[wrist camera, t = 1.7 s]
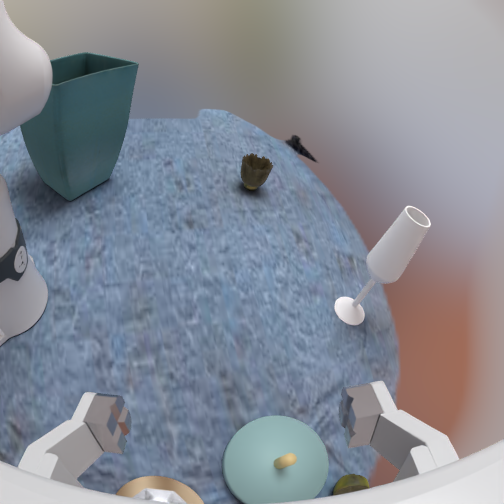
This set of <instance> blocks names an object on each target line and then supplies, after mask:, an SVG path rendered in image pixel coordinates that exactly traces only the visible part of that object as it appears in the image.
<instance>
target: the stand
mask: <svg viewBox="0 0 504 504" xmlns="http://www.w3.org/2000/svg"><path fill="white" fill-rule="evenodd" d="M145 488H149V489H158V490H168V491H174V492H175V493H176V494H177V495H179V496H180V497H181V498H182V499H183V500H184V501H185V502H186V503H187V504H204V503H203V501H202V500H201V498H200V497H199V496H198V495H197V494H196V493H195V492H194V491H193V490H192V489H191V488H189V487H188V486H186V485H185V484H183V483H181V482H179V481H176V480H174V479H171V478H167V477H161V476H146V477H141V478H137V479H134V480H132V481H130V482H128V483H127V484H125V485H124V486H123V487H122V488H121V489H120V490H119V491H118V492H117V493H116V495H119V496H124V497H131V498H132V497H134V496H135V495H136V494H138V493H139V492H141V491H142V490H143V489H145Z"/></svg>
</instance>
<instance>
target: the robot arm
mask: <svg viewBox="0 0 504 504" xmlns="http://www.w3.org/2000/svg"><path fill="white" fill-rule="evenodd" d="M52 78H53V74H52V66H51V62H50V59H49V57H48V55H47V53H46V52H45V50H44V49H43V48H42V47H41V46H40V45H39V44H38V43H37V42H35V41H33V40H31V39H30V38H28V37H27V36H25V35H24V34H23V33H21V32H20V31H19V30H18V29H17V27H16V26H15V25H14V24H13V22H12V21H11V19H10V18H9V16H8V14H7V11H6V9H5V6H4V2H3V0H0V136H1V135H3V134H6V133H8V132H10V131H11V130H13V129H15V128H16V127H18V126H20V125H22V124H23V123H25V122H27V121H28V120H30V119H32V118H33V117H35V116H37V115H39V114H40V113H41V111H42V109H43V108H44V106H45V104H46V102H47V100H48V97H49V95H50V91H51V87H52ZM47 299H48V290H47V285H46V283H45V281H44V279H43V277H42V276H41V275H40V273H39V272H38V270H37V269H36V267H35V263H34V261H33V259H32V257H31V256H30V255H29V254H28V252H27V249H26V244H25V240H24V237H23V233H22V229H21V226H20V224H19V222H18V220H17V219H16V218H15V215H14V212H13V208H12V204H11V200H10V196H9V191H8V187H7V183H6V181H5V179H4V178H3V176H2V175H1V174H0V345H2V344H3V343H4V342H5V341H6V340H7V339H8V338H10V337H12V336H15V335H18V334H20V333H22V332H24V331H26V330H28V329H29V328H30V327H32V326H33V325H34V324H35V323H36V322H37V321H38V319H39V318H40V317H41V315H42V313H43V312H44V309H45V307H46V304H47ZM341 395H342V398H343V400H342V401H341V402H340V405H339V418H340V422H341V426H343V427H344V428H345V433H344V436H345V439H346V442H347V446H348V448H352V447H358V446H363V445H369V444H370V446H371V447H372V448H374V449H375V450H376V451H377V452H378V453H380V454H381V455H382V456H383V457H384V458H386V459H387V460H388V461H389V462H390V463H391V464H393V465H394V466H395V467H396V468H398V469H399V470H400V471H399V473H398V474H397V476H396V478H395V480H394V481H393V482H392V483H389V484H385V485H382V486H377V487H373V488H369V489H364V490H360V491H355V492H350V493H345V494H340V495H335V496H329V497H323V498H316V499H309V500H301V501H292V502H281V503H268V504H504V439H503V440H501V441H499V442H497V443H495V444H493V445H491V446H489V447H486V448H484V449H482V450H480V451H478V452H476V453H473V454H471V455H469V456H467V457H464V458H462V459H459V457H458V456H457V454H456V452H455V450H454V448H453V446H452V444H451V443H450V440H449V438H448V437H447V436H446V435H444V434H443V433H441V432H439V431H437V430H435V429H434V428H432V427H430V426H428V425H427V424H425V423H423V422H421V421H420V420H418V419H416V418H415V417H413V416H411V415H409V414H408V413H406V412H404V411H403V410H397V408H396V406H395V404H394V402H393V400H392V398H391V396H390V394H389V392H388V390H387V388H386V386H385V384H384V382H383V381H377V382H372V383H366V384H361V385H355V386H349V387H343V389H342V393H341ZM124 403H125V402H124V399H123V397H122V396H118V395H109V394H101V393H92V392H86V393H84V394H83V396H82V398H81V400H80V402H79V405H78V407H77V409H76V411H75V413H74V415H73V417H72V419H71V420H67V421H65V422H64V423H62V424H61V425H59V426H58V427H56V428H55V429H53V430H52V431H50V432H49V433H47V434H46V435H44V436H43V437H41V438H40V439H38V440H37V441H35V442H34V443H32V444H30V445H29V446H28V447H27V449H26V451H25V453H24V455H23V457H22V459H21V461H20V463H19V465H18V468H17V467H14V466H12V465H9V464H7V463H4V462H2V461H0V504H184V503H171V502H161V501H152V500H144V499H137V498H131V497H124V496H119V495H113V494H108V493H103V492H98V491H94V490H89V489H85V488H84V487H83V486H82V485H81V484H80V483H79V481H78V480H77V478H78V477H79V476H80V475H81V474H82V473H83V472H84V471H85V470H86V469H87V468H88V467H89V466H90V465H91V464H92V463H94V462H95V461H96V460H97V459H98V458H99V457H100V456H101V455H102V454H103V453H104V452H112V453H120V454H123V452H124V449H125V445H126V442H127V440H126V438H125V435H127V434H128V433H129V432H130V429H131V416H130V413H129V410H128V409H126V408H125V407H124ZM103 451H104V452H103Z"/></svg>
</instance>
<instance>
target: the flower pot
mask: <svg viewBox="0 0 504 504" xmlns="http://www.w3.org/2000/svg"><path fill="white" fill-rule="evenodd" d="M50 62H51V66H52V74H53V78H52V87H51V91H50V95H49V97H48V100H47V102H46V104H45V106H44V108H43V109H42V111H41V113H40V114H39V115H37V116H35V117H33V118H32V119H30V120H28V121H27V122H25V123H23V124H22V125H20V127H21V131H22V135H23V138H24V142H25V144H26V147H27V150H28V152H29V155H30V157H31V160H32V162H33V164H34V166H35V168H36V170H37V171H38V173H39V175H40V177H41V178H42V180H43V182H44V183H46V184H47V185H48V186H50V187H51V188H52V189H54V190H55V191H56V192H58V193H59V194H60V195H62V196H63V197H64V198H66V199H67V200H69V201H71V200H73V199H75V198H77V197H78V196H80V195H82V194H83V193H85V192H87V191H88V190H90V189H92V188H94V187H95V186H97V185H99V184H101V183H102V182H104V181H106V180H108V179H109V178H110V176H111V173H112V171H113V169H114V167H115V164H116V161H117V159H118V156H119V153H120V150H121V147H122V144H123V140H124V137H125V133H126V129H127V125H128V120H129V113H130V107H131V101H132V95H133V89H134V84H135V79H136V74H137V69H138V65H139V64H138V63H136V62H133V61H129V60H124V59H119V58H115V57H110V56H105V55H100V54H94V53H88V52H87V53H86V52H85V53H78V54H74V55H69V56H65V57H61V58H57V59H54V60H50Z"/></svg>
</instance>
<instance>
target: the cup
mask: <svg viewBox="0 0 504 504" xmlns="http://www.w3.org/2000/svg"><path fill="white" fill-rule="evenodd" d="M272 168H273V165H272V162H271V163H270V160H269V159H265V157H264V156H263V157H262V159H261V158H257V154H256V155H255V156H254V154H253V153H251V154H250V155H249V156H248V154H247V155H246V157H245V155H244V157H243V159H242V166H241V178H242V181H243V182H244V188H245V189H247V190H249V191H255V190H256V189H257V188H258V186H261V185H262V184H263V183H264V182H265V181H266V179H267V177H268V175H269V173H270V171H271V169H272Z"/></svg>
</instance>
